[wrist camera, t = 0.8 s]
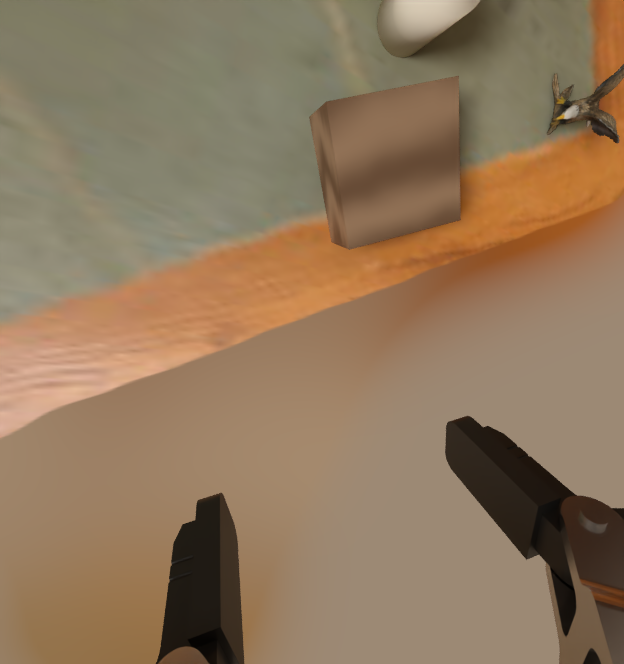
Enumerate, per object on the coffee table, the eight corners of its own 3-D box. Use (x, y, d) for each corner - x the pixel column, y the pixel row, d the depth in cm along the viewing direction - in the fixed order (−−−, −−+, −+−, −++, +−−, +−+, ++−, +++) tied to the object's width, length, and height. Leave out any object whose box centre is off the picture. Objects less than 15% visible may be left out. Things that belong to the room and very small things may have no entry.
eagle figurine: (522, 92, 36) (610, 63, 28) (577, 59, 36) (680, 19, 28) (534, 162, 39) (615, 154, 31) (584, 132, 39) (678, 115, 31)
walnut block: (308, 117, 32) (326, 101, 27) (420, 95, 34) (458, 75, 28) (330, 241, 37) (349, 249, 32) (427, 216, 39) (460, 220, 33)
